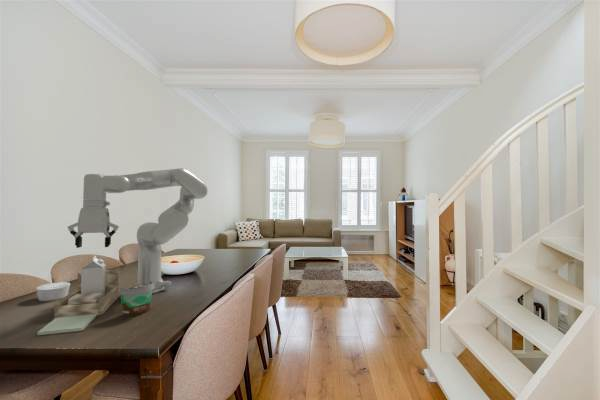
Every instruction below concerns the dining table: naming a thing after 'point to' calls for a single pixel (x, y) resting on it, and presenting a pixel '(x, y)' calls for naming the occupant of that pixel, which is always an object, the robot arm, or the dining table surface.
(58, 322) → the sage board
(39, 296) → the ramekin
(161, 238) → the robot arm
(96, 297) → the offcut stack
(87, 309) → the birch rack
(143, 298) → the food container
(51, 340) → the dining table surface
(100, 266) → the milk carton
